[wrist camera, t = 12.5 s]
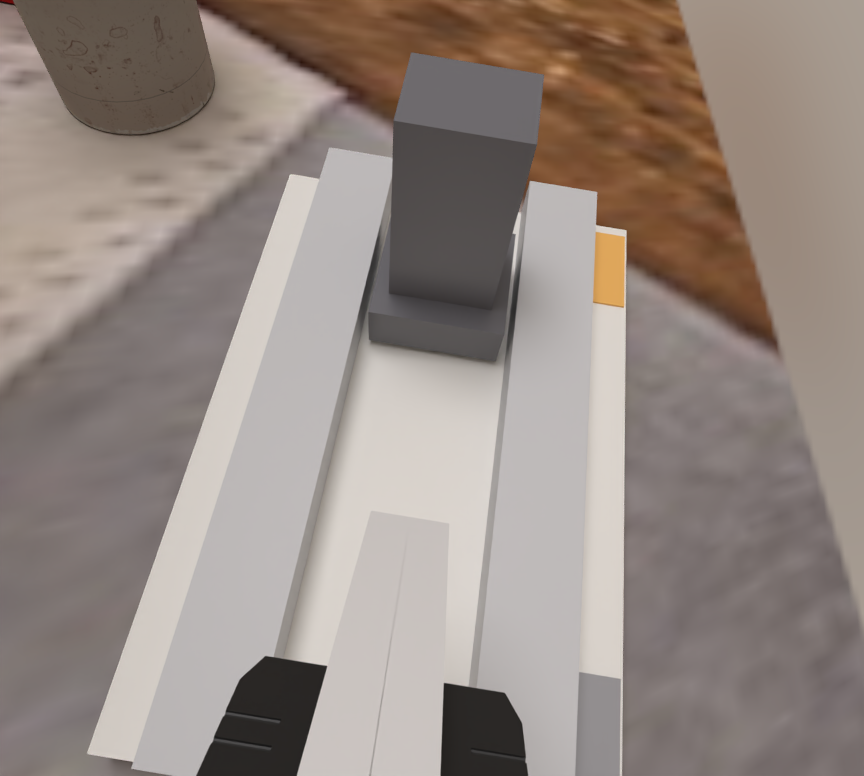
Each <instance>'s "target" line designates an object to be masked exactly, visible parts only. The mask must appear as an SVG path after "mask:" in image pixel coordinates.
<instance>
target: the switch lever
mask: <svg viewBox="0 0 864 776" xmlns="http://www.w3.org/2000/svg"><path fill="white" fill-rule="evenodd" d="M543 80H544V75H543V74H537V73H531V72H525V71H519V70H513V69H507V68H501V67H495V66H489V65H483V64H477V63H471V62H465V61H459V60H453V59H447V58H441V57H435V56H429V55H423V54H417V53H411V56H410V60H409V64H408V67H407V71H406V75H405V79H404V83H403V87H402V91H401V94H400V98H399V102H398V106H397V110H396V114H395V118H394V127H393V161H392V195H391V218H390V222H389V226H388V231H387V235H386V239H385V243H384V247H383V252H382V256H381V260H380V264H379V268H378V273H377V277H376V281H375V285H374V289H373V294H372V298H371V302H370V306H369V310H368V329H369V340H372V341H378V342H384V343H390V344H395V345H401V346H407V347H413V348H419V349H425V350H431V351H437V352H443V353H449V354H455V355H461V356H467V357H473V358H479V359H485V360H491V361H496V359H497V356H498V352H499V349H500V346H501V343H502V340H503V337H504V333H505V324H506V315H507V306H508V298H509V289H510V280H511V271H512V263H513V254H514V245H515V236H516V234H512V233H513V230H514V226H515V222H516V219H517V215H518V212H519V208H520V204H521V201H522V197H523V193H524V190H525V186H526V182H527V179H528V175H529V171H530V168H531V164H532V161H533V157H534V153H535V150H536V146H537V138H538V129H539V119H540V109H541V100H542V90H543Z"/></svg>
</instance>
